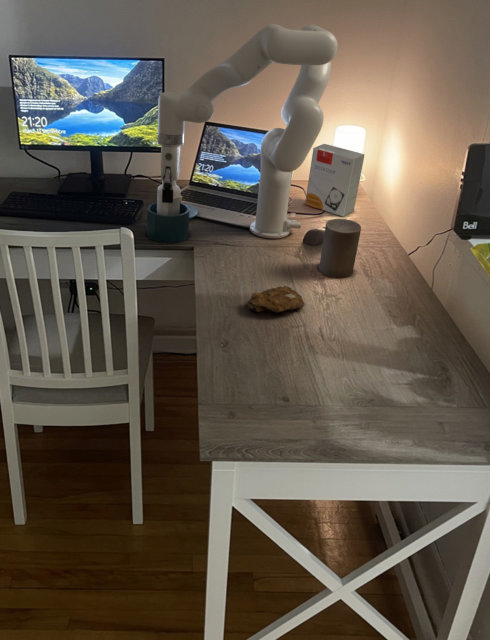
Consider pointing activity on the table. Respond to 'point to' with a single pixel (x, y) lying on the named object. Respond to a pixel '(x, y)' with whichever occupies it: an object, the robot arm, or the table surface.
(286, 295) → the decorative rock
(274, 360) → the table surface
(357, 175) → the hard drive box
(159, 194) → the spray bottle
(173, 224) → the tin
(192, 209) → the tin lid
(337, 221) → the pillar candle
